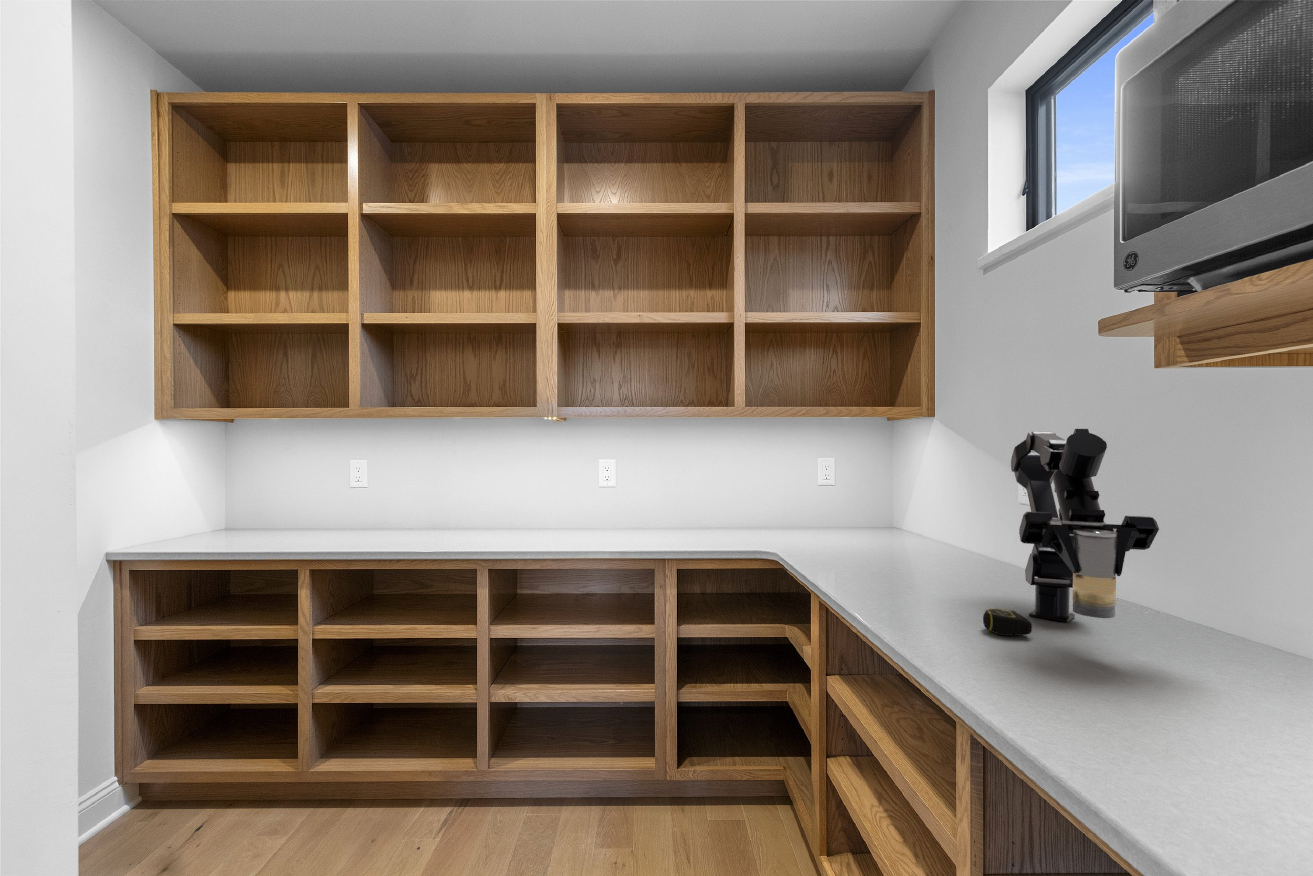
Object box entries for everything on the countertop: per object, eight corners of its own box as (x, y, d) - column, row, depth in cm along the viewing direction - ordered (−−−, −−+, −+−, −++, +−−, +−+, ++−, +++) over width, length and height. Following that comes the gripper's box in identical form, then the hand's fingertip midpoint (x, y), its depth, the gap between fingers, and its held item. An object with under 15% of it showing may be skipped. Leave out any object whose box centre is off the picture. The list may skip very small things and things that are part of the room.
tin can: (1076, 606, 109) (1078, 527, 109) (1119, 613, 105) (1120, 531, 104) (1067, 613, 104) (1069, 531, 104) (1111, 620, 100) (1113, 535, 100)
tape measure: (1033, 640, 113) (1033, 618, 113) (991, 638, 114) (991, 616, 114) (1017, 629, 120) (1017, 608, 120) (977, 627, 121) (977, 606, 121)
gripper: (1126, 528, 116) (1151, 606, 106) (1008, 522, 122) (1021, 596, 111) (1145, 486, 109) (1174, 566, 98) (1019, 483, 114) (1033, 558, 104)
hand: (1097, 573), depth 103 cm, fingers closed on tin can, 6 cm apart
